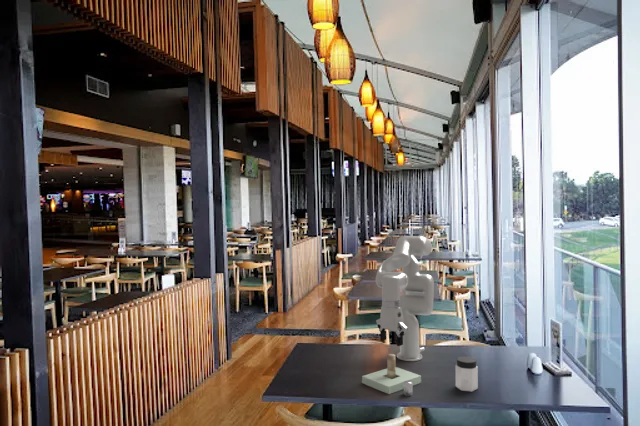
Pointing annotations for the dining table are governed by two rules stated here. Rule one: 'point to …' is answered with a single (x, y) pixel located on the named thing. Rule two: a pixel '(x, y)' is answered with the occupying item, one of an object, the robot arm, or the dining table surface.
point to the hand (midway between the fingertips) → (391, 342)
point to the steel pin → (408, 388)
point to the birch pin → (391, 366)
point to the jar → (466, 373)
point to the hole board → (390, 380)
